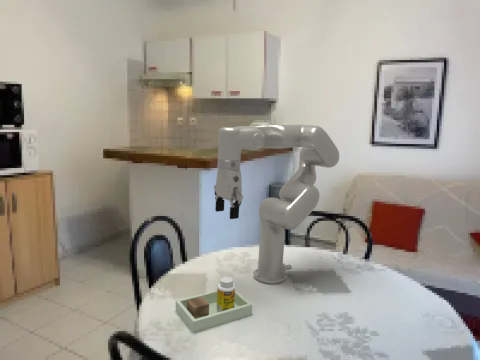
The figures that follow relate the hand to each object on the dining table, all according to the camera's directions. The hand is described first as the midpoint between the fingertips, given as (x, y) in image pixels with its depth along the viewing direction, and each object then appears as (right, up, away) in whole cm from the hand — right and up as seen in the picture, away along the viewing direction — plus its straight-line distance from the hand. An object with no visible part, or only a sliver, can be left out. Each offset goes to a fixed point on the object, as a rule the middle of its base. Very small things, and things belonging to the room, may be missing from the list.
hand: (226, 214), depth 120 cm
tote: (-4, -30, -10) cm, 32 cm away
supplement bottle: (0, -30, -8) cm, 31 cm away
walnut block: (-8, -30, -13) cm, 34 cm away
